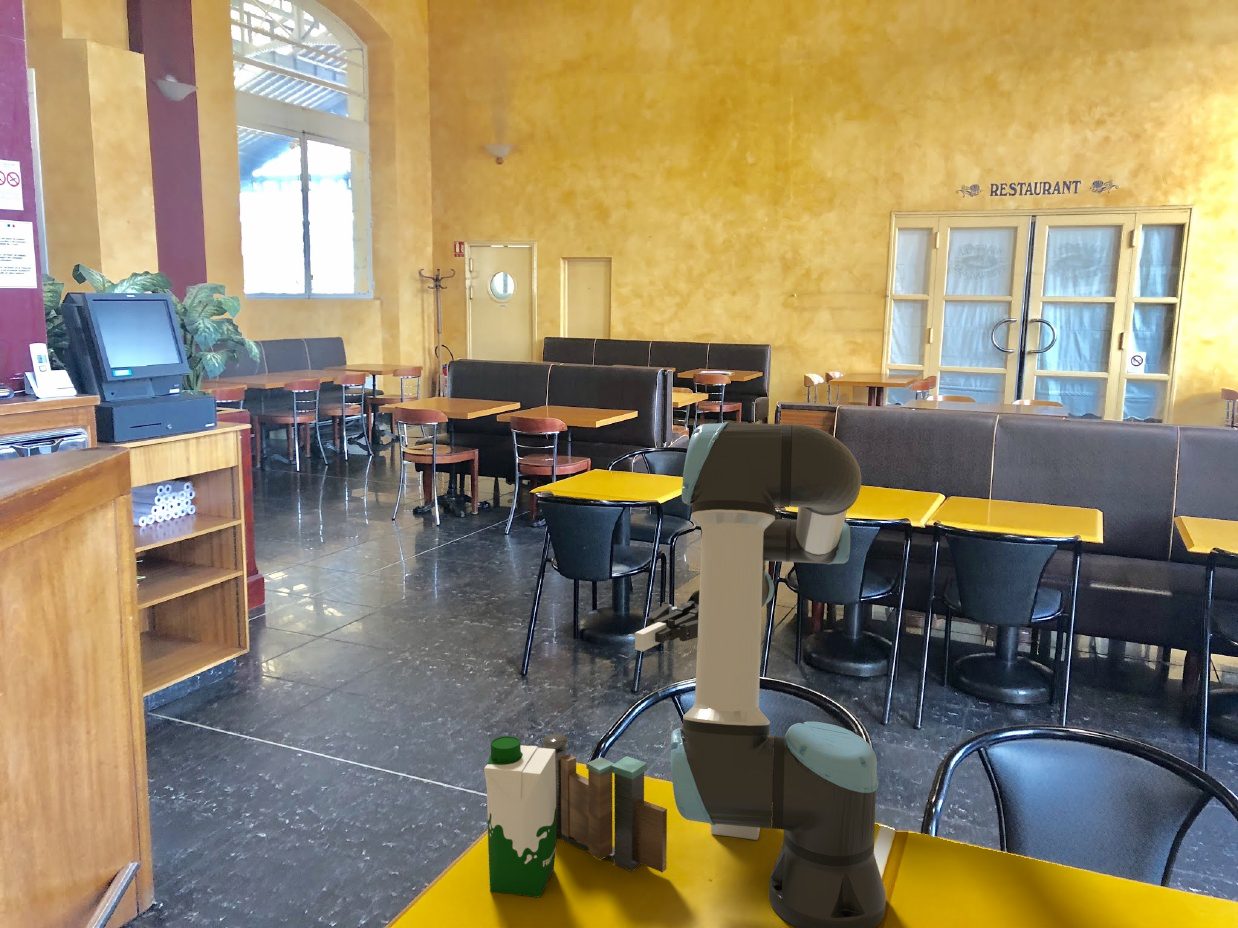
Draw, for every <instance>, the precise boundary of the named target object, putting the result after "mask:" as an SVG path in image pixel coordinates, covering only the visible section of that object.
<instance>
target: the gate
mask: <svg viewBox="0 0 1238 928" xmlns="http://www.w3.org/2000/svg"><path fill="white" fill-rule="evenodd" d="M585 764H586V765H585V766H586V768H585V769H587V770H588V771H587V772H588V773H587V774H588V777H587V778H586V777H585V776H584V775H581V774H580V773H578V772H577V757H576V756H573V755H572V754H569V753H568V754H566V756H563V757H561V830H562V834H563V835H565V836H566V837H568V838H569V837H573V838H574V839H576V840H578V841H579V842H581V843H583V844H584V845H586V846H588V847H589V851H588V853H589V854H590V855H592V856H593V857H595V858H597V859H598V860H602V859H605V858H604V857H606V856H608V855H610V854H612V846H613V773H612V772H611V765H613V764H615V763H614V762H612V761H610V760H608V759H606V758H604V757H602V756H599V757H598V758H595V759H593V760H590V761H588V762H587V763H585Z"/></svg>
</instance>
